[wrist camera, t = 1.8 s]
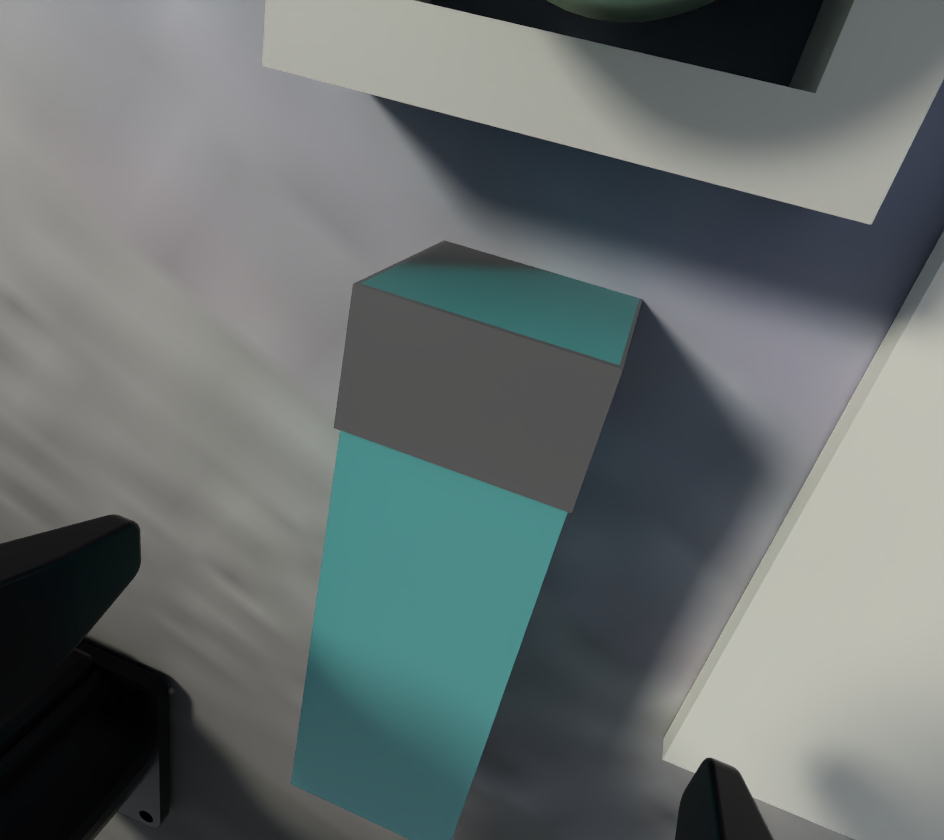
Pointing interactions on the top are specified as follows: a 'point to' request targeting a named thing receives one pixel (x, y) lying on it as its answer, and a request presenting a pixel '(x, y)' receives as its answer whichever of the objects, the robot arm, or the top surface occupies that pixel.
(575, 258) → the top surface
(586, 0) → the button
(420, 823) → the marker
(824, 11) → the button box
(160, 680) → the robot arm
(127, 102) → the top surface
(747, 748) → the paper pad
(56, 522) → the top surface
